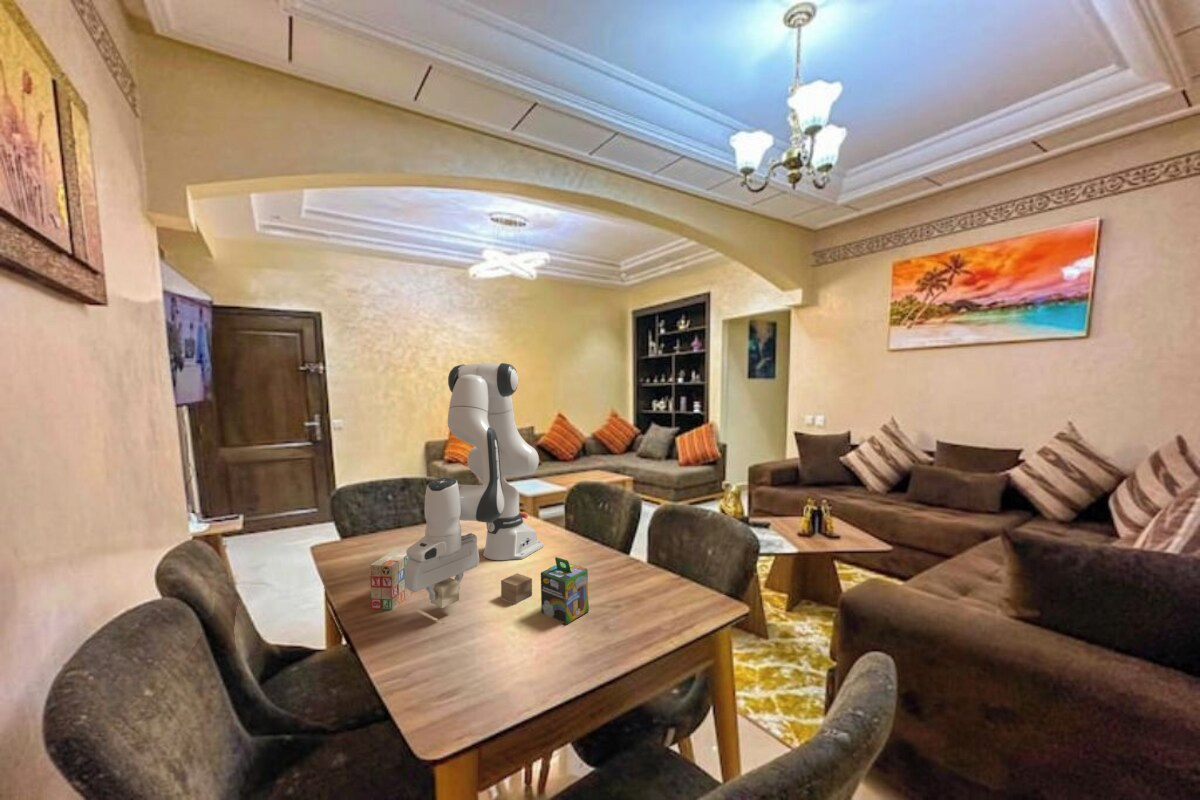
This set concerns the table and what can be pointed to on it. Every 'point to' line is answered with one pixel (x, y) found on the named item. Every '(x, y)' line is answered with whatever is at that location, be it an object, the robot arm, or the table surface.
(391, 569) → the stack of blocks
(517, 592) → the walnut block
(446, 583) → the birch cube
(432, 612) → the table surface
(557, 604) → the chalk box
